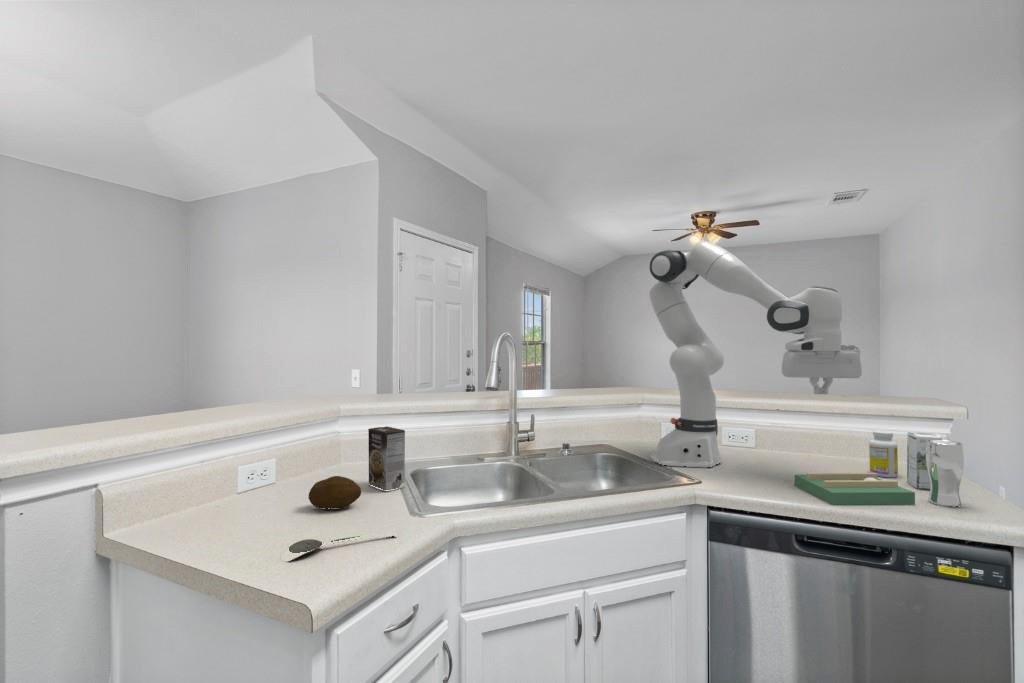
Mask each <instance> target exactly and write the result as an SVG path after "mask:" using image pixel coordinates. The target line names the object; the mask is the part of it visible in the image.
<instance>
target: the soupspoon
mask: <svg viewBox="0 0 1024 683" xmlns="http://www.w3.org/2000/svg"><path fill="white" fill-rule="evenodd" d="M360 536H361V535H358V536H351V537H344V538H338V539H334V541H339V540H345V539H350V538H355V537H360ZM330 541H331V542H333V540H330ZM322 542H323V541H321V540H319V539H310V538H309V539H303V540H299V541H296V542H295V543H293V544H291V545H290V546H288V547H289V551H290V552H292V553H300V552H307V551H311V550H313V549H315V550H317V549H319V548H318V547H320V546H321V545H322ZM316 548H317V549H316ZM320 548H321V547H320ZM313 551H314V550H313ZM311 552H312V551H311Z"/></svg>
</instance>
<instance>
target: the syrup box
mask: <svg viewBox="0 0 1024 683" xmlns="http://www.w3.org/2000/svg"><path fill="white" fill-rule="evenodd" d="M906 435H907V438H906V439H907V440H906V441H907V442H906V445H907V448H906V450H907V451H906V452H907V453H906V457H907V462H906V463H907V464H906V471H907V473H906V477H907V479H906V481H907V482H906V483H907V484H908V485H910V486H911V487H913V488H915V490H916V489H917V490H918V489H919V490H927V491H928V490H929V491H930V481H929V476H928V472H927V467H926V444H927V440H931V439H935V440H943V438H942V437H941V436H939V435H938V434H936V433H930V432H908V431H907V434H906Z"/></svg>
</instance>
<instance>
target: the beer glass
mask: <svg viewBox="0 0 1024 683" xmlns="http://www.w3.org/2000/svg"><path fill="white" fill-rule="evenodd" d="M964 461H965V460H964V451H963V443H962V442H959V441H953V440H948V439H947V440H946V439H942V440H935V439H931V440H927V444H926V467H927V472H928V476H929V481H930V490H929V494H928V498H927V501H928V502H929V503H931V504H933V503H934V505H936V504H938V506H940V505H943V506H942V507H946V506H953V507H952V508H957V507H956V506H961V507H962V501H961V496H960V486H961V480H962V476H963V472H964V465H965V463H964ZM954 506H955V507H954Z"/></svg>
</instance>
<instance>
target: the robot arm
mask: <svg viewBox="0 0 1024 683" xmlns="http://www.w3.org/2000/svg"><path fill="white" fill-rule="evenodd" d="M649 272H650V274H651V276H652V277H653V278H654V279H655V280H657V283H655V284H654V285H653V286H651V288H650V290H649V299H650V303H651V306H652V308H653V311H654V313H655V316H656V318H657V319H658V322H659V323H660V326H661V328H662V330H663V332H664V334H665V335H666V337H667V338H668V340H670V342H672V343H673V345H674V346H675V347H676V349H674V351H672V353H671V355H670V358H669V365H670V368H671V371H672V372H673V373H674V374H675V378H676V382H677V385H678V391H679V397H680V400H679V401H680V417H679V418H677V419H676V418H675V417H671V419H670V423H671V424H672V425H674V429H672V430H671V431H670V432H668V433H667V434H666V435H665V436H663V437H661V438H660V439H659V441H658V444H657V450H656V453H655V452H653V453H650V457H649V458H650V460H651V461H652V460H653V461H652V462H654V461H655V462H657V463H660V464H663V465H662V466H664V465H667V467H684V466H686V468H687V467H688V468H707V467H711V468H713V467H715V466H717V465H716V464H718V465H720V464H721V463H722V462H721V461H722V458H721V456H720V451H719V445H718V438H717V436H718V430H719V428H718V419H717V416H716V415H717V412H716V411H717V404H716V402H717V399H716V393H715V392H714V390H713V388H712V384H711V378H710V376H712V375H714V374H717V372H718V371H720V370H721V369H722V368H723V365H724V363H725V358H724V355H723V352H722V351H721V349H719V348H718V347H717V346H716V345H715V344H714V343H713V341H712V339H711V338H710V337H709V336H708V335H707V333H706V332H705V331H704V329H703V328H702V327H701V325H700V324H699V323H698V320H697V319H696V317H695V316H694V313H693V311H692V310H691V308H690V306H689V304H688V302H687V300H686V298H685V296H684V294H683V290H685V289H686V290H687V289H688V288H689V287H690V286H691V284H693V283H694V282H695V281H696V280H697V279H698V278H699V276H700V277H701V278H703V280H705V281H707V282H708V283H709V284H711V285H712V286H714V287H716V288H717V289H719V290H722V291H724V292H727V293H730V294H735V295H740V296H743V297H746V298H748V299H751V300H753V301H755V302H756V303H758V304H760V305H761V306H762V307H764V308H765V309H767V313H766V321H767V323H768V325H769V326H770V328H772V329H773V330H775V331H777V332H781V333H787V334H789V333H791V334H794V335H803V338H799V339H796V340H792V341H788V342H785V346H784V347H785V353H784V354H783V357H782V362H781V373H782V375H783V376H784V377H786V378H804V379H805V378H807V379H808V378H809V383H810V384H811V386H812V387H813V394H814V395H828V394H829V388H830V387H831V385H832V384H833V382H834V380H833V379H860V378H861V376H862V374H863V373H862V363H861V361H862V360H861V350H860V349H859V347H857V346H856V345H854V344H848V345H847V344H842V331H841V326H840V325H841V322H842V317H843V315H842V313H843V311H842V310H843V308H842V296H841V294H840V293H839V291H838V290H836V289H834V288H831V287H824V286H809V287H807V288H806V289H805V290H804V291H802V292H799V293H798V294H796V295H794V296H793V295H792V296H791V297H789V296H787V295H785V294H784V293H782V292H781V291H779V290H778V289H776V288H775V287H773V286H771V285H770V284H768V283H767V282H766V281H764V279H761V278H760V277H759V276H758V275H757V274H756V273H755V272H754V271H753V270H751V268H750V267H748V266H747V265H746V264H745V263H744V262H743V261H742V260H741V259H739V258H738V257H737V256H736V255H734V254H733V253H732V252H729V251H728V250H727V249H725V248H724V247H721V246H719V245H717V244H715V243H713V242H710V241H708V240H701V241H698V242H697V243H695V244H694V245H693V246H692V247H691V248H690V249H689V251H687V252H684V251H683V250H671V249H668V250H662V251H659V252H657V253H655V254H654V255H653V256H652V258H651V259H650V262H649ZM820 379H822V381H823V384H822V386H821V387H820V385H819V384H818V383H819V382H820ZM655 462H654V463H655ZM657 463H656V464H657ZM719 463H720V464H719ZM660 464H659V465H660ZM712 466H713V467H712Z"/></svg>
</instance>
